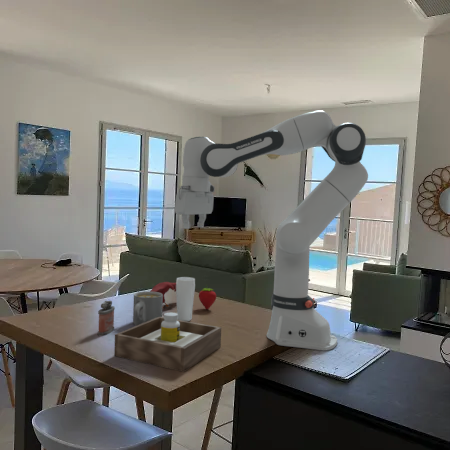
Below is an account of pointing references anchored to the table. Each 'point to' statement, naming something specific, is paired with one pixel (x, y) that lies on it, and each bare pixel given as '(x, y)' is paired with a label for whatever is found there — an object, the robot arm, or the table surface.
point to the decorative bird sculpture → (164, 288)
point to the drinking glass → (185, 297)
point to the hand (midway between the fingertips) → (193, 227)
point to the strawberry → (207, 297)
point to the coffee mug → (147, 306)
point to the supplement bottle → (170, 328)
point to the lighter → (106, 318)
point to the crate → (168, 344)
